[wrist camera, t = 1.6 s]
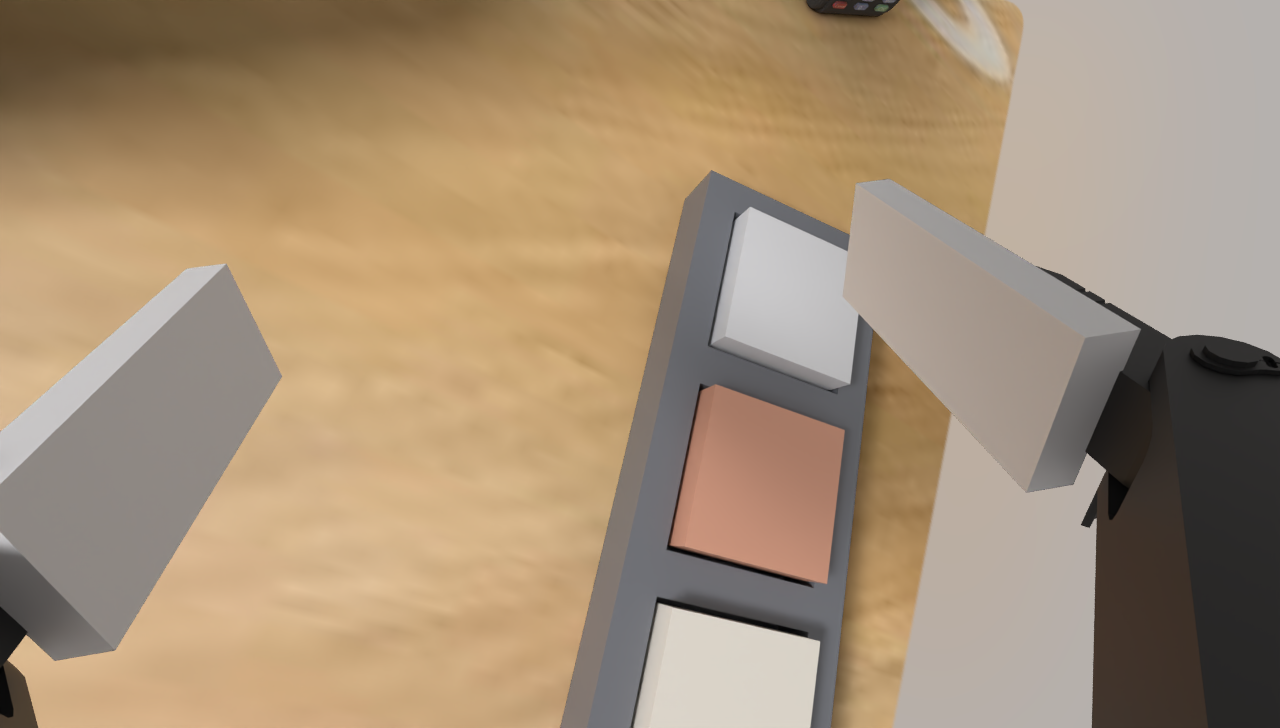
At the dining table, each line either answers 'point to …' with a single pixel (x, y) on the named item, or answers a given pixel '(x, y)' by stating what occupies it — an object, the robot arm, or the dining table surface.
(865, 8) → the card reader
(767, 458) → the key terracotta
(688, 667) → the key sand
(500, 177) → the dining table surface
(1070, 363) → the robot arm
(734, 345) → the key grey
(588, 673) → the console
